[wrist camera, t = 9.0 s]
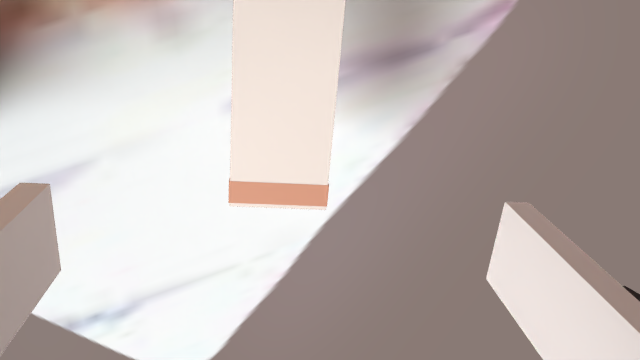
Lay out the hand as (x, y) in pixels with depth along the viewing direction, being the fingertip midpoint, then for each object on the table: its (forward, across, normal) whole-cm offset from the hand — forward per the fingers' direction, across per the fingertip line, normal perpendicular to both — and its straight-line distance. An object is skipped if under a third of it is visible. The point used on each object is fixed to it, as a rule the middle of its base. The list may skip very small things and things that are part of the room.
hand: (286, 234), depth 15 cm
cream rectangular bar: (+13, 0, +4) cm, 14 cm away
